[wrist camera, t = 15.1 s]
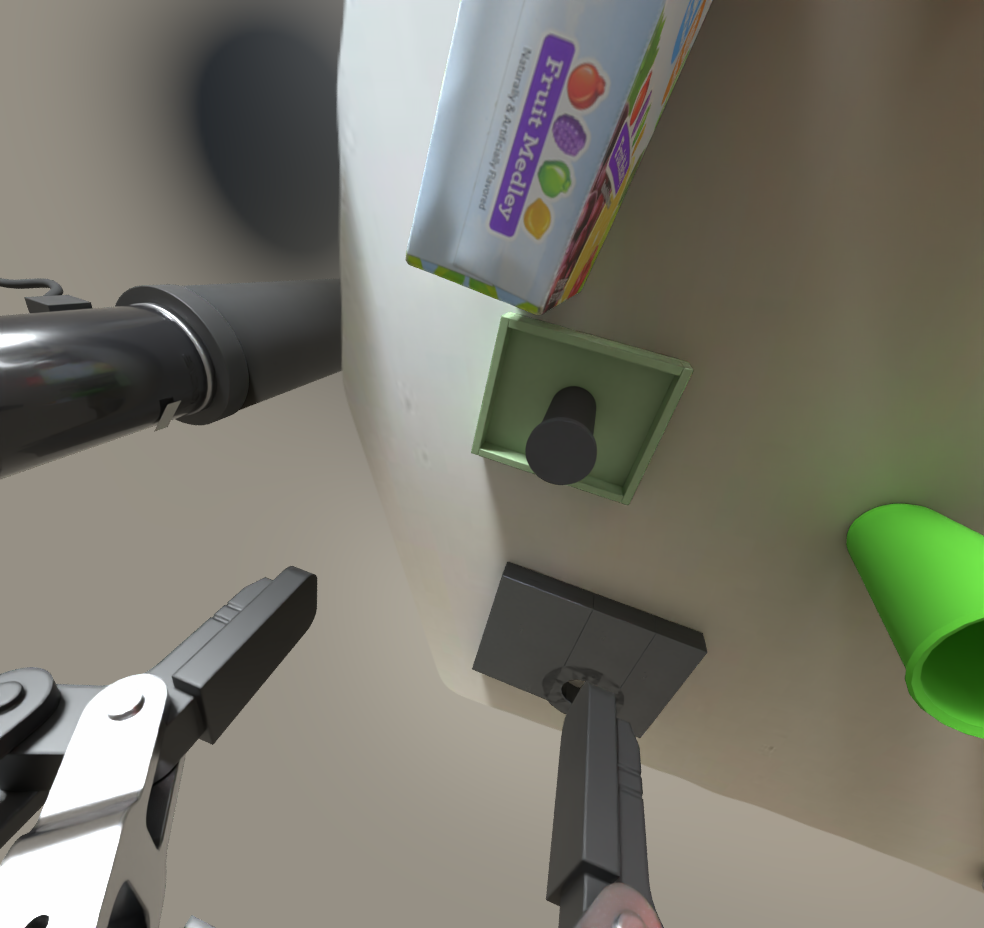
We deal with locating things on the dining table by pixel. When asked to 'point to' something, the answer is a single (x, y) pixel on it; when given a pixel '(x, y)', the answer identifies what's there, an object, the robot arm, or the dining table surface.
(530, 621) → the plate
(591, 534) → the dining table surface
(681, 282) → the dining table surface
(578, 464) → the plug
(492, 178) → the snack box
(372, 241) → the dining table surface
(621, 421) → the dish
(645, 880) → the robot arm
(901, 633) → the cup
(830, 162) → the dining table surface
